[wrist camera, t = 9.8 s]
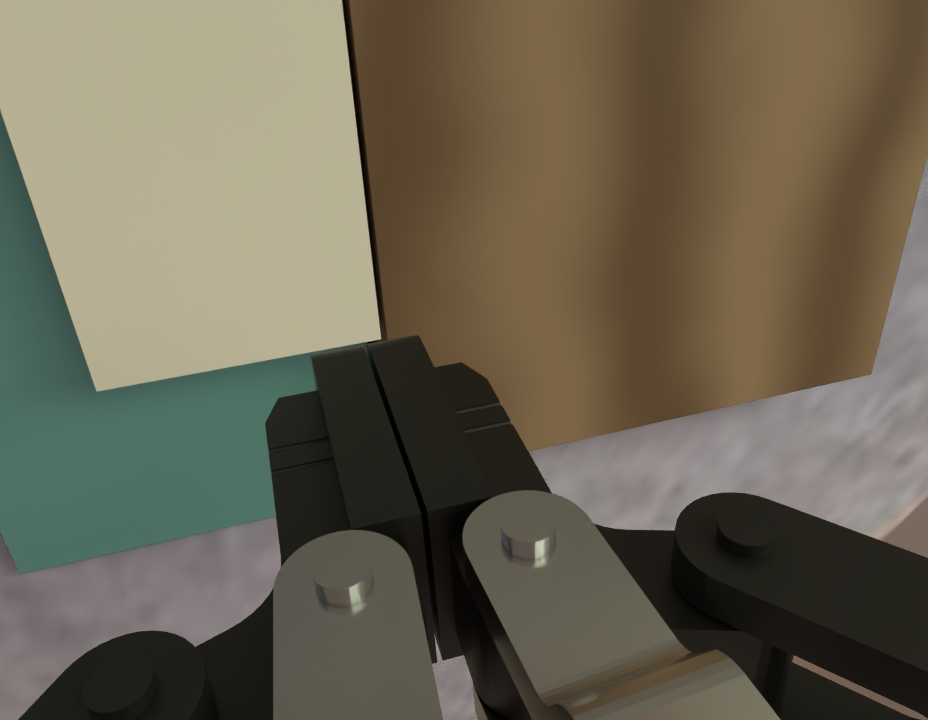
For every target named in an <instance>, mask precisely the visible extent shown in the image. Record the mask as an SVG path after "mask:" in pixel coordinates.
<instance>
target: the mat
mask: <svg viewBox="0 0 928 720" xmlns="http://www.w3.org/2000/svg"><path fill="white" fill-rule="evenodd" d="M361 345H363V347H364V349H365V352H366V345H367V342H363V343H358V344H352V345H347V346H342V347H336V348H331V349H325V350H320V351H315V352H309V353H304V354H298V355H293V356H287V357H282V358H277V359H271V360H266V361H260V362H255V363H249V364H244V365H239V366H233V367H228V368H222V369H217V370H211V371H206V372H201V373H195V374H190V375H184V376H179V377H173V378H168V379H163V380H157V381H152V382H146V383H141V384H135V385H130V386H125V387H119V388H114V389H108V390H103V391H96V388H95V386H94V383H93V380H92V377H91V374H90V371H89V368H88V365H87V362H86V359H85V356H84V353H83V350H82V348H81V345H80V342H79V339H78V336H77V333H76V330H75V327H74V324H73V321H72V318H71V315H70V312H69V309H68V307H67V304H66V301H65V298H64V295H63V292H62V289H61V286H60V283H59V280H58V277H57V274H56V271H55V269H54V266H53V263H52V260H51V257H50V254H49V251H48V248H47V245H46V242H45V239H44V236H43V233H42V230H41V228H40V225H39V222H38V219H37V216H36V213H35V210H34V207H33V204H32V201H31V198H30V195H29V192H28V189H27V187H26V184H25V181H24V178H23V175H22V172H21V169H20V166H19V163H18V160H17V157H16V154H15V151H14V149H13V146H12V143H11V140H10V137H9V134H8V131H7V128H6V125H5V122H4V119H3V116H2V113H1V110H0V533H1V535H2V537H3V539H4V542H5V544H6V546H7V548H8V550H9V552H10V554H11V556H12V559H13V561H14V563H15V565H16V567H17V569H18V571H19V574H23V573H27V572H32V571H36V570H40V569H45V568H49V567H54V566H58V565H63V564H67V563H71V562H76V561H80V560H85V559H89V558H93V557H98V556H102V555H107V554H111V553H115V552H120V551H124V550H129V549H133V548H138V547H142V546H146V545H151V544H155V543H160V542H164V541H168V540H173V539H177V538H182V537H186V536H191V535H195V534H199V533H204V532H208V531H213V530H217V529H221V528H226V527H230V526H235V525H239V524H244V523H248V522H252V521H257V520H261V519H266V518H270V517H274V516H276V510H275V502H274V494H273V485H272V477H271V476H272V475H271V469H270V461H269V451H268V444H267V436H266V427H265V422H266V420H267V418H268V417H269V415H270V413H271V411H272V409H273V407H274V405H275V403H276V401H277V399H278V398H280V397H285V396H291V395H296V394H301V393H306V392H311V391H316V385H315V380H314V374H313V368H312V362H311V355H312V354H317V353H323V352H328V351H333V350H339V349H344V348H350V347H355V346H361ZM366 355H367V353H366Z"/></svg>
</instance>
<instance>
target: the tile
mask: <svg viewBox="0 0 928 720" xmlns="http://www.w3.org/2000/svg"><path fill="white" fill-rule="evenodd" d="M0 110H1V113H2V116H3V119H4V122H5V125H6V128H7V131H8V134H9V137H10V140H11V143H12V146H13V149H14V151H15V154H16V157H17V160H18V163H19V166H20V169H21V172H22V175H23V178H24V181H25V184H26V187H27V189H28V192H29V195H30V198H31V201H32V204H33V207H34V210H35V213H36V216H37V219H38V222H39V225H40V228H41V230H42V233H43V236H44V239H45V242H46V245H47V248H48V251H49V254H50V257H51V260H52V263H53V266H54V269H55V271H56V274H57V277H58V280H59V283H60V286H61V289H62V292H63V295H64V298H65V301H66V304H67V307H68V309H69V312H70V315H71V318H72V321H73V324H74V327H75V330H76V333H77V336H78V339H79V342H80V345H81V348H82V350H83V353H84V356H85V359H86V362H87V365H88V368H89V371H90V374H91V377H92V380H93V383H94V386H95V388H96V391H103V390H108V389H114V388H119V387H125V386H130V385H135V384H141V383H146V382H152V381H157V380H163V379H168V378H173V377H179V376H184V375H190V374H195V373H201V372H206V371H211V370H217V369H222V368H228V367H233V366H239V365H244V364H249V363H255V362H260V361H266V360H271V359H277V358H282V357H287V356H293V355H298V354H304V353H309V352H315V351H320V350H325V349H331V348H336V347H342V346H347V345H352V344H358V343H363V342H369V341H374V340H380V339H381V333H380V325H379V316H378V308H377V299H376V290H375V282H374V273H373V265H372V256H371V247H370V239H369V230H368V221H367V213H366V204H365V196H364V187H363V178H362V170H361V161H360V153H359V144H358V135H357V127H356V118H355V109H354V101H353V92H352V84H351V75H350V66H349V58H348V49H347V41H346V32H345V23H344V15H343V6H342V0H0Z"/></svg>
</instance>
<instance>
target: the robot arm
mask: <svg viewBox="0 0 928 720" xmlns="http://www.w3.org/2000/svg"><path fill="white" fill-rule="evenodd" d="M366 353H367V355H366ZM311 362H312V368H313V374H314V380H315V385H316V391H311V392H306V393H301V394H296V395H291V396H285V397H280V398H278V399H277V401H276V403H275V405H274V407H273V409H272V411H271V413H270V415H269V417H268V418H267V420H266V422H265V427H266V436H267V444H268V451H269V461H270V469H271V475H272V476H271V477H272V485H273V494H274V502H275V510H276V519H277V527H278V535H279V544H280V552H281V569H280V570H279V572H278V574H277V577H276V580H275V583H274V588H273V590H272V591H271V593H270V595H269V596H268V597H267V598H266V600H265V601H264V602H263V603H262V605H261V606H260V607H258V608H257V609H256V610H255V611H254V612H253V613H252V614H251V615H250V616H248V617H247V618H246V619H244V620H243V621H242V622H240V623H239V624H237V625H235V626H233V627H232V628H230V629H228V630H227V631H225V632H223V633H221V634H219V635H217V636H215V637H213V638H211V639H210V640H208V641H206V642H204V643H202V644H200V645H198V646H196V647H194V645H193V644H191V643H190V642H189V641H187V640H186V639H185V638H182V637H180V636H178V635H176V634H172V633H168V632H164V631H141V632H135V633H130V634H126V635H123V636H120V637H117V638H114V639H111V640H109V641H107V642H105V643H102V644H100V645H98V646H97V647H95V648H93V649H92V650H90V651H88V652H87V653H85V654H84V655H83V656H81V657H80V658H79V659H77V660H76V661H75V662H74V663H73V664H71V665H70V666H69V667H68V668H67V669H66V670H65V671H64V672H63V673H62V674H61V675H60V676H59V677H58V678H57V679H56V680H55V681H54V683H53V684H52V685H51V686H50V687H49V688H48V689H47V690H46V691H45V692H44V693H43V694H42V695H41V696H40V697H39V698H38V699H37V700H36V702H35V703H34V704H33V705H32V706H31V707H30V708H29V709H28V710H27V711H26V712H25V713H24V714H23V715H22V716H21V717H20V718H19V720H443V717H442V712H441V707H440V702H439V697H438V692H437V687H436V682H435V677H434V672H433V667H432V664H433V663H437V656H436V646H435V637H436V640H437V644H438V647H439V650H440V653H441V657H442V660H446V659H450V658H454V657H458V656H461V655H464V656H465V659H466V662H467V665H468V668H469V671H470V674H471V677H472V680H473V692H474V704H475V712H476V715H477V718H478V720H919V719H915V718H911V717H909V716H907V715H904V714H902V713H900V712H898V711H896V710H894V709H891V708H889V707H887V706H884V705H882V704H881V703H878V702H876V701H874V700H872V699H870V698H868V697H866V696H863V695H861V694H859V693H857V692H855V691H853V690H851V689H848V688H846V687H844V686H842V685H840V684H837V683H836V682H833V681H831V680H829V679H827V678H825V677H822V676H820V675H818V674H816V673H814V672H812V671H810V670H808V669H806V668H803V667H801V666H799V665H797V664H794V663H793V662H792V660H793V656H794V655H795V656H797V657H799V658H801V659H804V660H806V661H808V662H810V663H812V664H814V665H816V666H819V667H821V668H823V669H825V670H827V671H830V672H832V673H834V674H836V675H838V676H840V677H843V678H845V679H847V680H849V681H851V682H854V683H856V684H858V685H860V686H862V687H864V688H866V689H869V690H871V691H873V692H875V693H877V694H880V695H882V696H884V697H886V698H888V699H890V700H893V701H895V702H897V703H899V704H901V705H904V706H906V707H908V708H910V709H912V710H914V711H916V712H918V713H920V714H922V715H924V716H925V717H927V718H928V558H926V557H924V556H920V555H918V554H915V553H913V552H910V551H907V550H904V549H902V548H899V547H896V546H894V545H891V544H888V543H886V542H883V541H880V540H877V539H875V538H872V537H869V536H867V535H864V534H861V533H858V532H856V531H853V530H850V529H848V528H845V527H842V526H839V525H837V524H834V523H831V522H829V521H826V520H823V519H820V518H818V517H815V516H812V515H810V514H807V513H804V512H801V511H799V510H796V509H793V508H791V507H788V506H785V505H782V504H780V503H777V502H774V501H772V500H769V499H766V498H762V497H759V496H755V495H750V494H745V493H718V494H712V495H708V496H705V497H702V498H699V499H697V500H695V501H693V502H692V503H691V504H689V505H688V506H686V508H685V509H684V510H683V511H682V512H681V513H680V515H679V517H678V519H677V523H676V527H675V531H666V530H623V529H613V528H608V527H603V526H599V525H596V524H593V522H592V521H591V520H590V518H589V517H588V516H587V514H586V513H585V512H584V511H583V510H582V509H581V508H580V507H578V506H577V505H576V504H575V503H573V502H571V501H569V500H568V499H566V498H563V497H561V496H558V495H556V494H552V493H551V491H550V489H549V487H548V486H547V484H546V482H545V480H544V478H543V477H542V475H541V473H540V471H539V470H538V468H537V466H536V464H535V463H534V461H533V459H532V457H531V455H530V454H529V452H528V450H527V448H526V447H525V445H524V443H523V441H522V440H521V438H520V436H519V434H518V432H517V431H516V429H515V427H514V425H511V422H510V418H509V417H508V415H507V413H506V411H505V409H504V408H503V406H501V405H500V401H499V399H498V397H497V395H496V393H495V392H494V390H493V388H492V386H491V385H490V383H489V381H488V379H487V378H485V377H484V376H482V375H481V374H479V373H478V372H476V371H475V370H473V369H471V368H470V367H468V366H467V365H465V364H464V363H462V362H460V363H455V364H450V365H445V366H439V367H434V366H433V364H432V361H431V359H430V357H429V355H428V353H427V351H426V349H425V347H424V344H423V342H422V340H421V338H420V337H419V335H414V336H408V337H403V338H398V339H392V340H387V341H381V342H376V343H370V344H367V345H366V352H365V349H364V347H363V345H361V346H355V347H350V348H344V349H339V350H333V351H328V352H323V353H317V354H312V355H311ZM434 634H435V637H434Z"/></svg>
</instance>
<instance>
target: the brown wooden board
mask: <svg viewBox="0 0 928 720" xmlns="http://www.w3.org/2000/svg"><path fill="white" fill-rule="evenodd" d="M342 6H343V15H344V23H345V32H346V41H347V49H348V58H349V66H350V75H351V84H352V92H353V101H354V109H355V118H356V127H357V135H358V144H359V153H360V161H361V170H362V178H363V187H364V196H365V204H366V213H367V221H368V230H369V239H370V247H371V256H372V265H373V273H374V282H375V290H376V299H377V308H378V316H379V325H380V333H381V339H380V340H375V343H376V342H381V341H387V340H392V339H398V338H403V337H408V336H414V335H419V337H420V338H421V340H422V342H423V344H424V347H425V349H426V351H427V353H428V355H429V357H430V359H431V361H432V364H433V366H434V367H439V366H445V365H450V364H455V363H460V362H462V363H464V364H465V365H467V366H468V367H470V368H471V369H473V370H475V371H476V372H478V373H479V374H481V375H482V376H484V377H485V378H487V379H488V381H489V383H490V385H491V386H492V388H493V390H494V392H495V393H496V395H497V397H498V399H499V401H500V405H501V406H503V408H504V409H505V411H506V413H507V415H508V417H509V418H510V422H511V425H514V427H515V429H516V431H517V432H518V434H519V436H520V438H521V440H522V441H523V443H524V445H525V447H526V448H527V450H528V451H532V450H536V449H541V448H545V447H549V446H554V445H558V444H563V443H567V442H572V441H576V440H581V439H585V438H590V437H594V436H598V435H603V434H607V433H612V432H616V431H621V430H625V429H630V428H634V427H639V426H643V425H648V424H652V423H656V422H661V421H665V420H670V419H674V418H679V417H683V416H688V415H692V414H697V413H701V412H705V411H710V410H714V409H719V408H723V407H728V406H732V405H737V404H741V403H746V402H750V401H755V400H759V399H763V398H768V397H772V396H777V395H781V394H786V393H790V392H795V391H799V390H804V389H808V388H812V387H817V386H821V385H826V384H830V383H835V382H839V381H844V380H848V379H853V378H857V377H861V376H866V375H870V374H871V373H872V369H873V366H874V362H875V358H876V354H877V350H878V346H879V342H880V338H881V334H882V330H883V326H884V322H885V319H886V315H887V311H888V307H889V303H890V299H891V295H892V291H893V287H894V283H895V279H896V275H897V272H898V268H899V264H900V260H901V256H902V252H903V248H904V244H905V240H906V236H907V232H908V228H909V225H910V221H911V217H912V213H913V209H914V205H915V201H916V197H917V193H918V189H919V185H920V181H921V178H922V174H923V170H924V166H925V162H926V158H927V154H928V0H342Z"/></svg>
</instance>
